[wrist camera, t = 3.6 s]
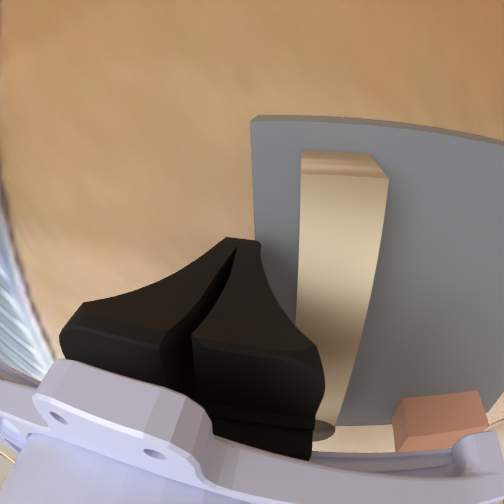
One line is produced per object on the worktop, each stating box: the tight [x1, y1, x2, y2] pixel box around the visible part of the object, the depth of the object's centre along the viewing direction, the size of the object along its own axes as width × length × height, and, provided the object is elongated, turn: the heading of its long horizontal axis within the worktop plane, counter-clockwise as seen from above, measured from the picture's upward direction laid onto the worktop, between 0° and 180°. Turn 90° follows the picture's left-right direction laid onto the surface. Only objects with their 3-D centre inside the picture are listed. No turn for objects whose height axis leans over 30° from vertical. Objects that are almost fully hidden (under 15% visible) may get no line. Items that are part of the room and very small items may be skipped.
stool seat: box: [250, 115, 504, 452], centre depth 14 cm, size 19×18×5 cm
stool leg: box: [295, 150, 389, 442], centre depth 13 cm, size 14×3×3 cm, turn 2°
